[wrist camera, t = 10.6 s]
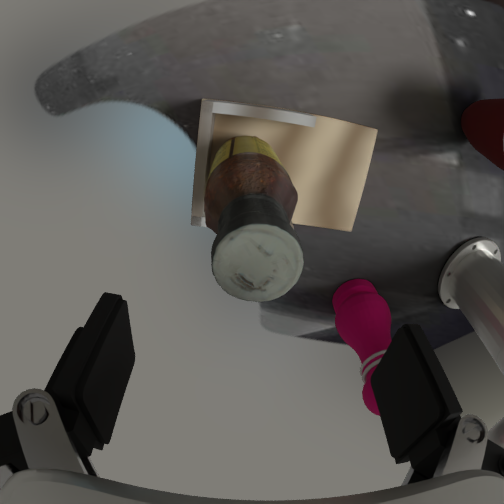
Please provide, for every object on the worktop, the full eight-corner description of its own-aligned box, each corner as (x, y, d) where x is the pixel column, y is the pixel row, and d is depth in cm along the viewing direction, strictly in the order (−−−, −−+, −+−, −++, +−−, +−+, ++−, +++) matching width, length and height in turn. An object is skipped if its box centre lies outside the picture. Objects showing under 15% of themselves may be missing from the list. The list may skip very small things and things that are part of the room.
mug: (478, 66, 25) (533, 72, 16) (508, 112, 27) (560, 130, 18) (437, 120, 29) (491, 139, 20) (470, 165, 31) (520, 193, 23)
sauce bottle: (228, 199, 33) (208, 339, 15) (205, 145, 30) (146, 236, 12) (288, 179, 32) (336, 303, 14) (267, 122, 29) (300, 180, 11)
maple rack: (373, 128, 30) (391, 135, 26) (348, 227, 36) (360, 246, 32) (203, 98, 28) (196, 100, 24) (193, 206, 34) (185, 224, 30)
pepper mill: (325, 318, 43) (357, 445, 25) (332, 275, 39) (379, 409, 22) (372, 314, 43) (418, 431, 25) (383, 273, 39) (447, 394, 22)
